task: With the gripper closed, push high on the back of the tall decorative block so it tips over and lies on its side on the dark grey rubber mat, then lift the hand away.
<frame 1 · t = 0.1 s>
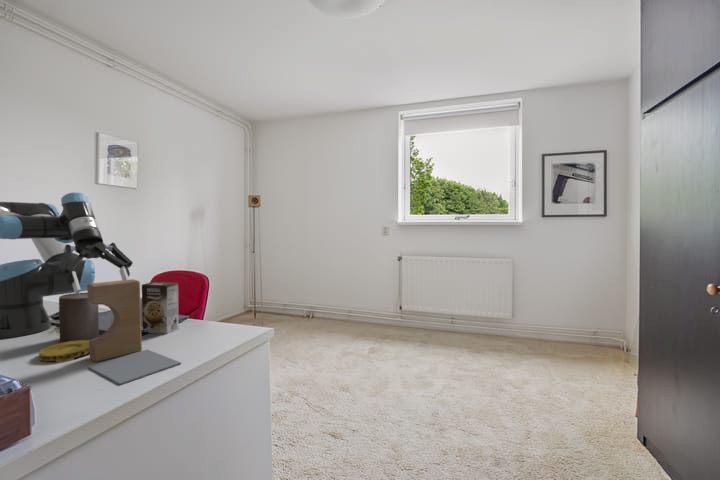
hand: (104, 288, 110), 15 cm above the table, tool tilted 35°, fingers open, 13 cm apart
decorative block: (116, 355, 96), on the table
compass: (68, 355, 96), on the table
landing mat: (135, 365, 88), on the table
pillar candle: (80, 339, 109), on the table
coffee box: (161, 331, 117), on the table
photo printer: (130, 331, 116), on the table
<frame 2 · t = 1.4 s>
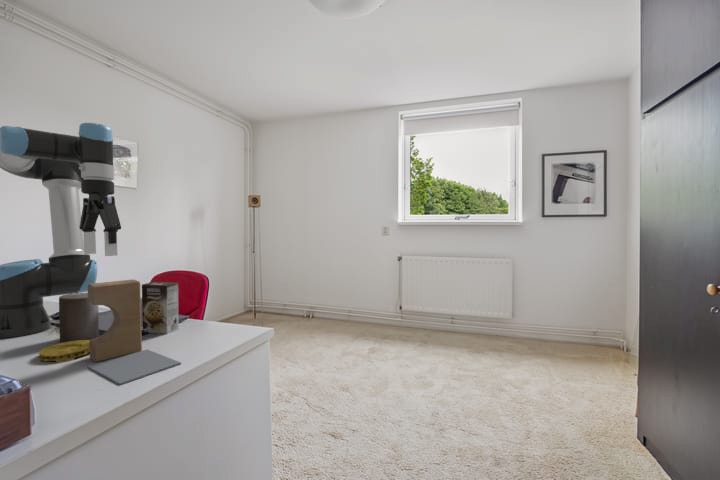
hand: (100, 254, 99), 27 cm above the table, tool pointing down, fingers open, 13 cm apart
nothing on the table moved.
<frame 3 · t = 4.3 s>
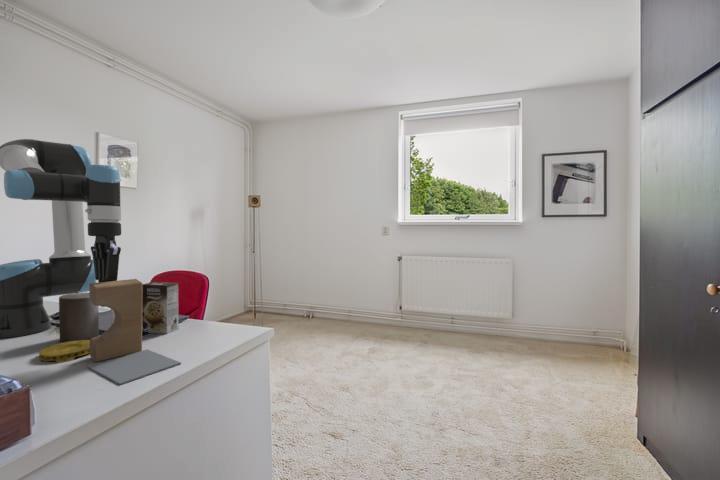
hand: (107, 305, 97), 13 cm above the table, tool pointing down, fingers closed
decorative block: (116, 354, 96), on the table, touching gripper, hand
everything else where it was.
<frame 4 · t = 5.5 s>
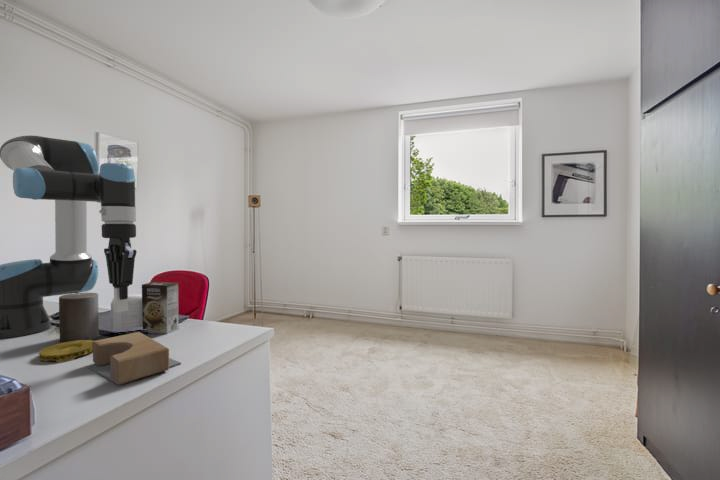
hand: (121, 310, 93), 13 cm above the table, tool pointing down, fingers closed
decorative block: (117, 345, 94), point 3 cm above the table, touching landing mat
everything else where it was.
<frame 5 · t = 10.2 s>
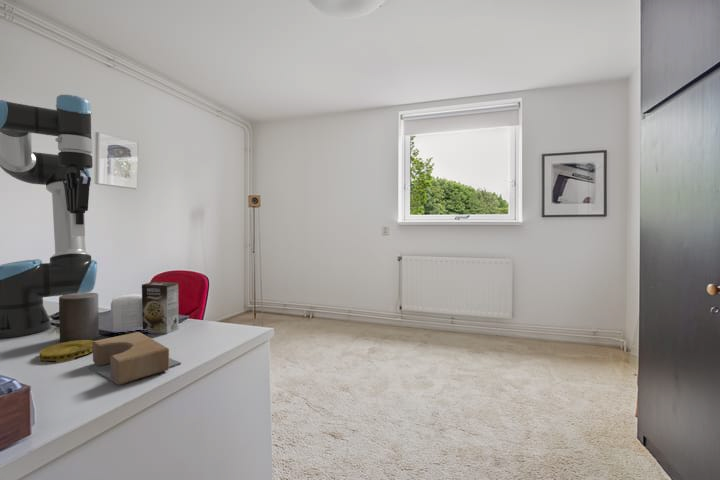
hand: (78, 236, 99), 32 cm above the table, tool pointing down, fingers closed
nothing on the table moved.
at the end: decorative block tilted 90°; decorative block touching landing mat; decorative block inside the target area (3.2 cm from its centre), point 3.1 cm above the table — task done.
